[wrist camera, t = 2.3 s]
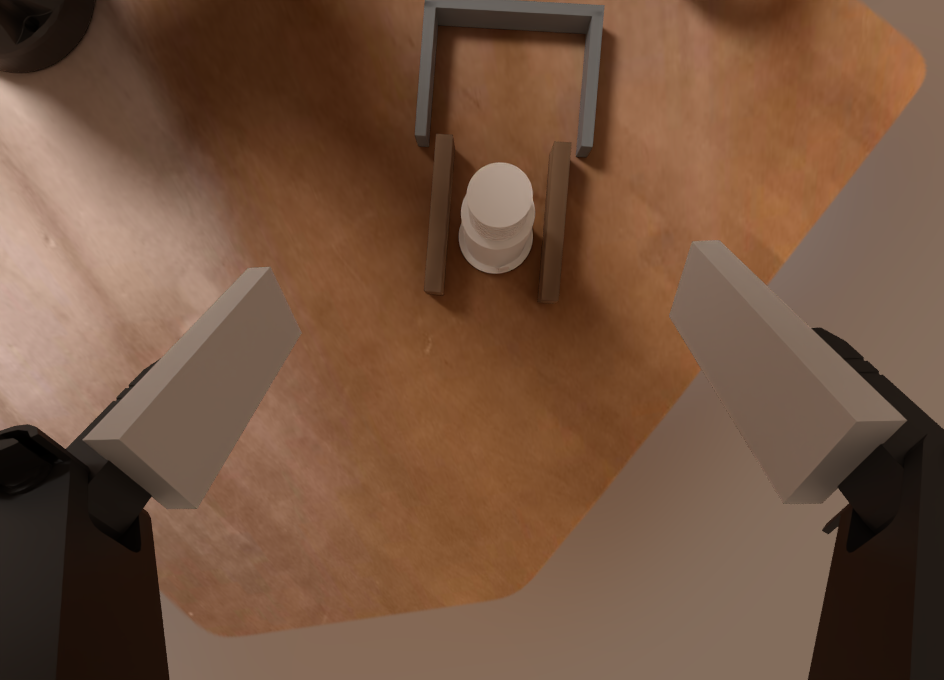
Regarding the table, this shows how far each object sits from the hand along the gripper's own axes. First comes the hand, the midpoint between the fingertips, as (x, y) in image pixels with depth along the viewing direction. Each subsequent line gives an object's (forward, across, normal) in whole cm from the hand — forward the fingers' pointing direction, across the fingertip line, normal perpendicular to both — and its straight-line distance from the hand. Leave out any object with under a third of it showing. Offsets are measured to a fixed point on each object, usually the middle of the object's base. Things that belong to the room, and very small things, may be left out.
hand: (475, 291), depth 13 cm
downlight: (+24, +1, -9) cm, 26 cm away
